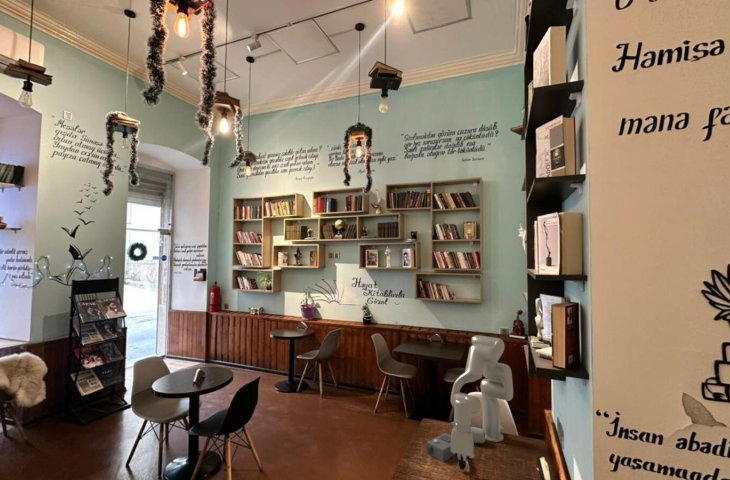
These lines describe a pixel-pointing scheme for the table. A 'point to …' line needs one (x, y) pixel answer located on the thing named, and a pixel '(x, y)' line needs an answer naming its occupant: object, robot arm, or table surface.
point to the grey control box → (440, 447)
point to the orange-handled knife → (466, 464)
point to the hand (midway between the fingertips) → (462, 468)
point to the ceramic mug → (478, 435)
